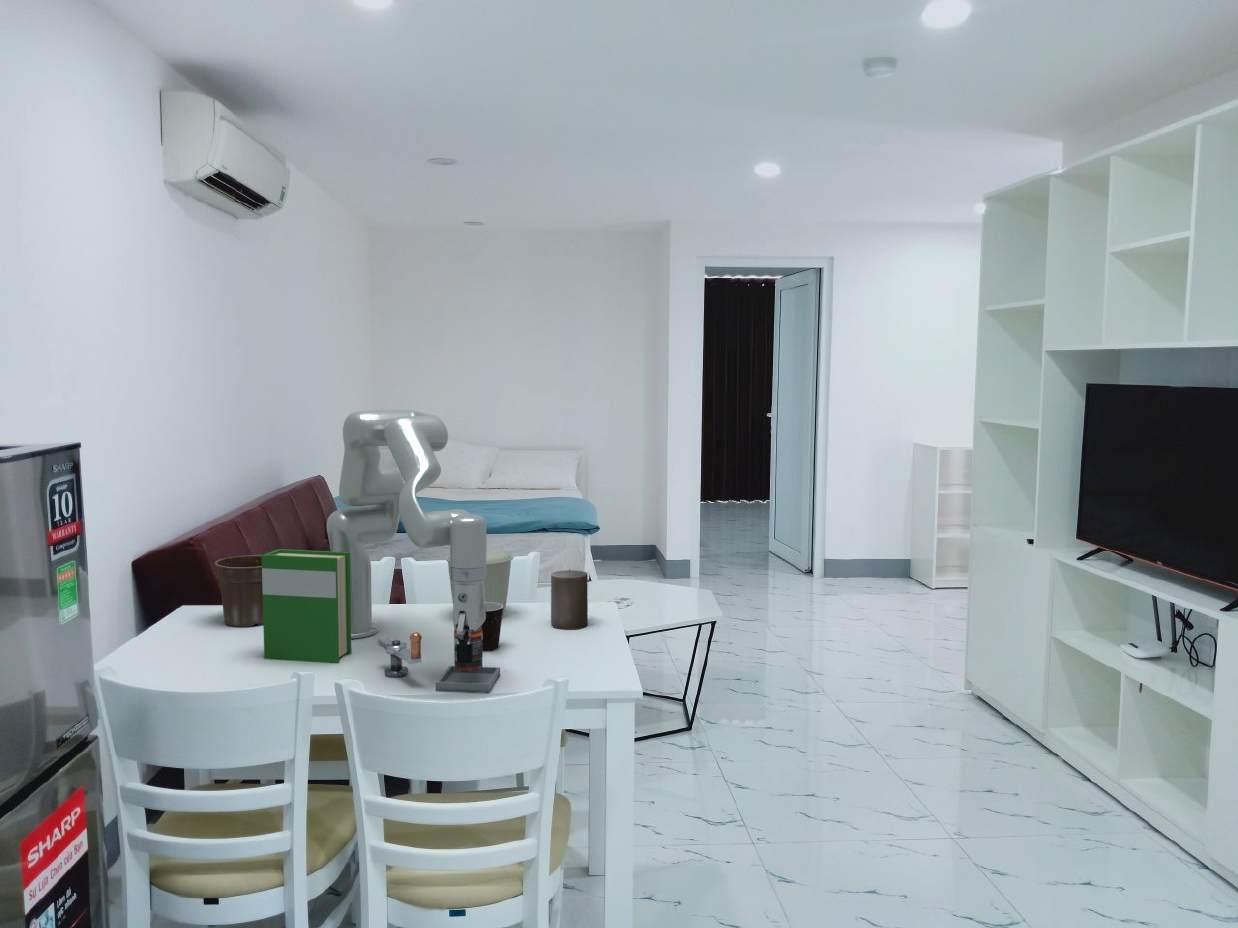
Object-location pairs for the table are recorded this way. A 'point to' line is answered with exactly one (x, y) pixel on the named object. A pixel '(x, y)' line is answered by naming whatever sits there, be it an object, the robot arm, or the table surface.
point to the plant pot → (241, 590)
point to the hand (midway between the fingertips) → (468, 656)
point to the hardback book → (306, 605)
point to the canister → (494, 575)
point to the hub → (396, 668)
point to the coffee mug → (492, 626)
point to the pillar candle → (569, 599)
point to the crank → (404, 648)
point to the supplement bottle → (477, 652)
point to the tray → (468, 680)
